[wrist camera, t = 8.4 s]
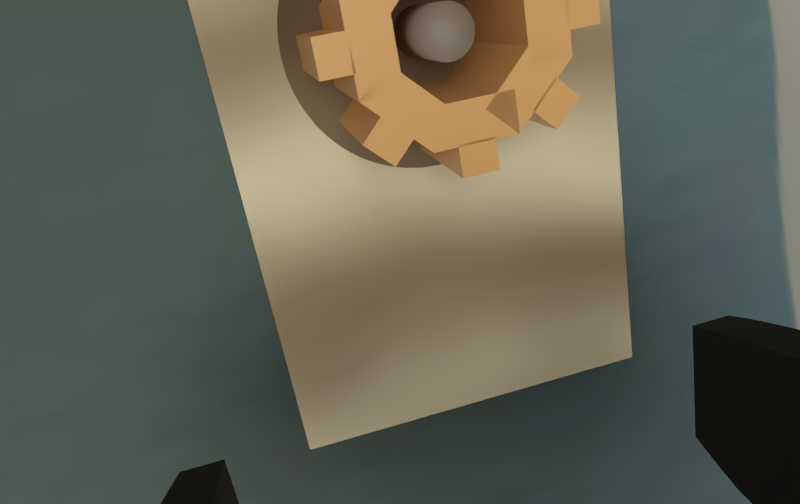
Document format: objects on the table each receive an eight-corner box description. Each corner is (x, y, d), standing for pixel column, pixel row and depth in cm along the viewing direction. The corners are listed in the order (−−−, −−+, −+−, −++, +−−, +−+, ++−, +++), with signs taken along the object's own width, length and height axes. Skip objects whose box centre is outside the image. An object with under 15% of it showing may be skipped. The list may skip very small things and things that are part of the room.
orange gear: (573, -3, 17) (653, -9, 13) (443, 190, 17) (489, 227, 14) (385, -163, 15) (427, -217, 11) (249, 63, 15) (251, 72, 12)
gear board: (615, 342, 21) (749, 455, 16) (307, 430, 20) (333, 589, 14) (555, -474, 14) (758, -796, 9) (72, -432, 13) (-57, -786, 7)
